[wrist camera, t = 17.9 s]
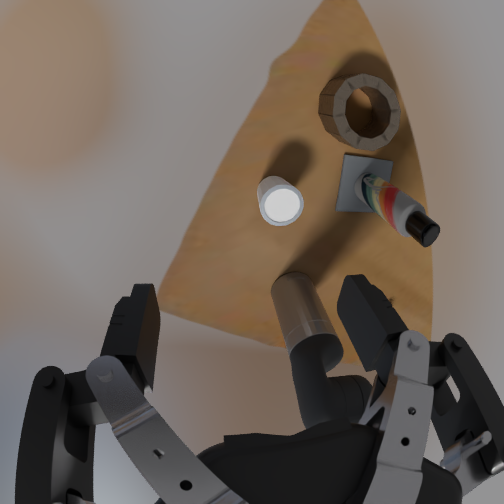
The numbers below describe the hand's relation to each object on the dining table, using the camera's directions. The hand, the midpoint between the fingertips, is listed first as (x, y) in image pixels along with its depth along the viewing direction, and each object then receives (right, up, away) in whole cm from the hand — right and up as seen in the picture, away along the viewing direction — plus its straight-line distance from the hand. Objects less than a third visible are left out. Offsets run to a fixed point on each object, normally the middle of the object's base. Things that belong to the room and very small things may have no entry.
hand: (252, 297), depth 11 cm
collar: (+17, +26, +29) cm, 43 cm away
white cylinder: (+4, +13, +36) cm, 38 cm away
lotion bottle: (+22, +14, +37) cm, 45 cm away
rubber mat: (+22, +15, +37) cm, 45 cm away
